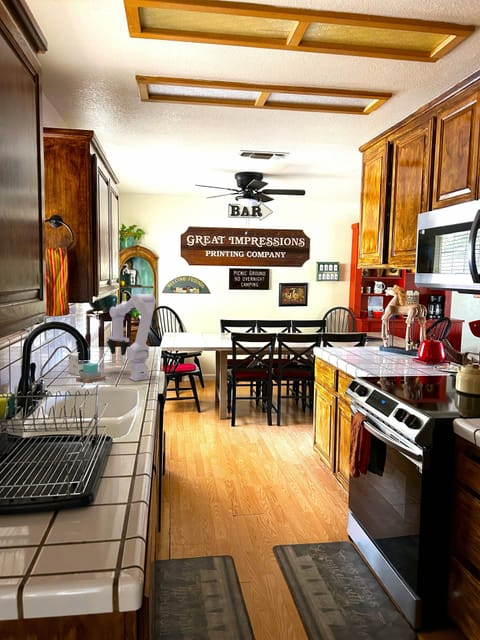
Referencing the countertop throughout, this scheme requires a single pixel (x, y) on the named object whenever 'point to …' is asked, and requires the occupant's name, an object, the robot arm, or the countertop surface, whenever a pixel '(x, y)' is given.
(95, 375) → the grey middle slab
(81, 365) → the light bulb box
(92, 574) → the countertop surface
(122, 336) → the robot arm
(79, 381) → the walnut base slab
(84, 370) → the teal block
